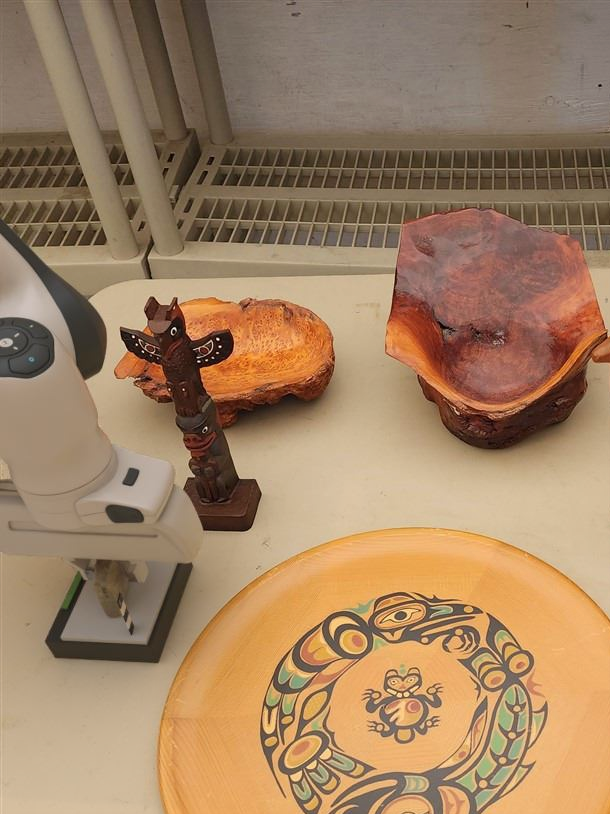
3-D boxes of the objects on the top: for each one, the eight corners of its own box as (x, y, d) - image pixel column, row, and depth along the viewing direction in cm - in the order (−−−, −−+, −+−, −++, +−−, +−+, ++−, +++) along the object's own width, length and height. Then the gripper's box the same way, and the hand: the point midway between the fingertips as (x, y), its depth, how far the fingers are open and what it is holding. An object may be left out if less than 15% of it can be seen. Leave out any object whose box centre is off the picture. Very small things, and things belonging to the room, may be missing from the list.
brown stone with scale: (117, 601, 83) (141, 509, 91) (76, 602, 83) (104, 510, 91) (132, 635, 87) (153, 545, 95) (93, 637, 87) (118, 546, 95)
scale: (54, 657, 90) (41, 638, 87) (98, 561, 98) (88, 540, 96) (158, 663, 89) (148, 643, 86) (193, 565, 98) (185, 544, 95)
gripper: (-53, 503, 78) (7, 596, 88) (169, 512, 77) (204, 605, 87) (-22, 455, 82) (32, 548, 92) (189, 463, 81) (220, 557, 91)
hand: (117, 576), depth 90 cm, fingers closed on brown stone with scale, 3 cm apart
